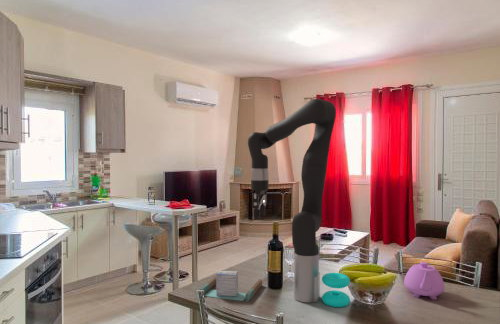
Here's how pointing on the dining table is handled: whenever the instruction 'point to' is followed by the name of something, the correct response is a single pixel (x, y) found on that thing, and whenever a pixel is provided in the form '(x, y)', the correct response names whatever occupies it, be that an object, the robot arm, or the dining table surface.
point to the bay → (248, 295)
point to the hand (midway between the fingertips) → (259, 216)
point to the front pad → (239, 296)
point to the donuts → (333, 296)
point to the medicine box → (227, 283)
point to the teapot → (424, 281)
